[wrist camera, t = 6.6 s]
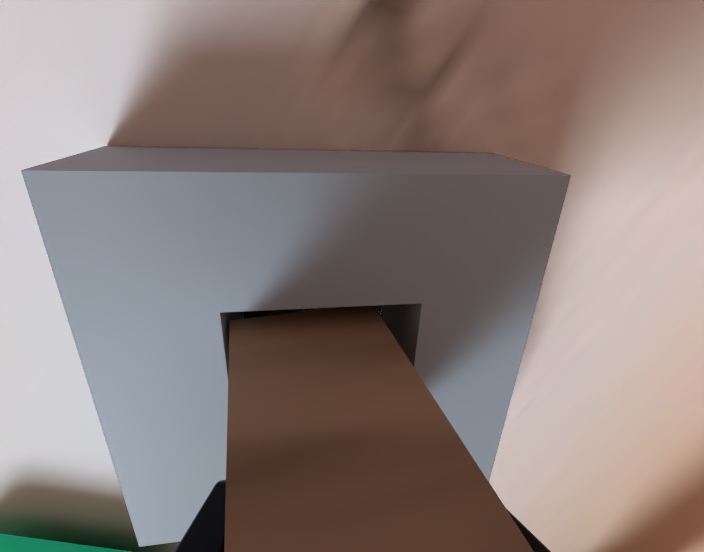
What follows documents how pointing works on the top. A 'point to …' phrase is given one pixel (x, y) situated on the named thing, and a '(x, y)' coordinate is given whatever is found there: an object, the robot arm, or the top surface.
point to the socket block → (283, 285)
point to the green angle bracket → (44, 545)
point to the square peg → (346, 446)
